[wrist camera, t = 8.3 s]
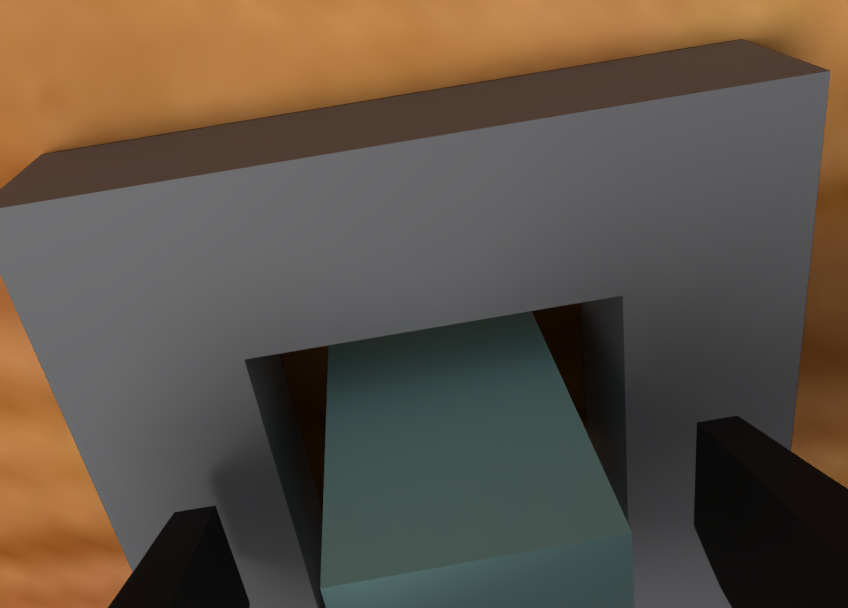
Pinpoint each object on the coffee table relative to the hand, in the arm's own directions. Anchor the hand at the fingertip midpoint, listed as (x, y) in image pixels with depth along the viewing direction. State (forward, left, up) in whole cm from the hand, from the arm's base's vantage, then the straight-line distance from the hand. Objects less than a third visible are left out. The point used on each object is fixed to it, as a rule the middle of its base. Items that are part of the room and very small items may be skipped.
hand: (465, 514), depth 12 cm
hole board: (0, 0, -3) cm, 3 cm away
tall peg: (0, 0, -3) cm, 3 cm away
